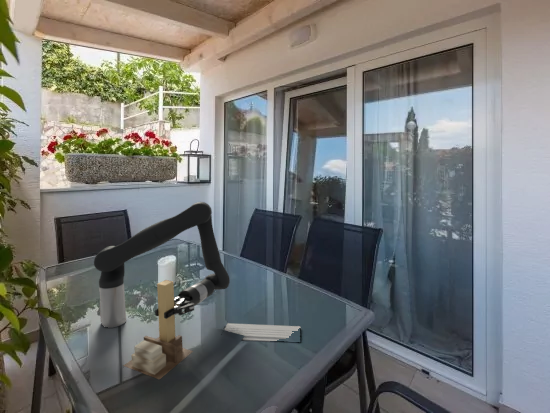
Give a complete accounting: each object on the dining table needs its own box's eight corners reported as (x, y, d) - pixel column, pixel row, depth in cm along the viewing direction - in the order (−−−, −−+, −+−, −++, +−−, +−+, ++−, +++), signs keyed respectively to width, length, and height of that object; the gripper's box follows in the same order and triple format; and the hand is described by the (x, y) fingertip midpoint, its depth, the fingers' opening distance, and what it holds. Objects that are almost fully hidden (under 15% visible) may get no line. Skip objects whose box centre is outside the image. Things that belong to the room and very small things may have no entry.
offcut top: (134, 354, 100) (134, 346, 100) (144, 348, 104) (144, 340, 104) (152, 361, 97) (152, 352, 97) (162, 354, 101) (161, 345, 100)
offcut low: (132, 366, 101) (131, 355, 100) (144, 357, 105) (143, 346, 105) (154, 374, 97) (154, 363, 96) (166, 365, 101) (165, 354, 101)
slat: (159, 343, 108) (157, 283, 105) (168, 337, 111) (165, 279, 108) (167, 345, 106) (164, 285, 103) (175, 339, 110) (173, 281, 107)
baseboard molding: (300, 346, 116) (300, 329, 127) (300, 339, 115) (300, 323, 127) (220, 342, 118) (227, 326, 130) (219, 335, 118) (227, 320, 130)
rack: (123, 369, 101) (121, 348, 100) (159, 344, 116) (158, 325, 115) (159, 383, 95) (158, 361, 94) (193, 355, 109) (192, 335, 108)
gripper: (179, 283, 123) (144, 300, 107) (207, 289, 117) (175, 308, 101) (179, 301, 124) (145, 320, 108) (208, 308, 118) (176, 329, 102)
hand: (160, 314), depth 105 cm, fingers closed on slat, 3 cm apart
